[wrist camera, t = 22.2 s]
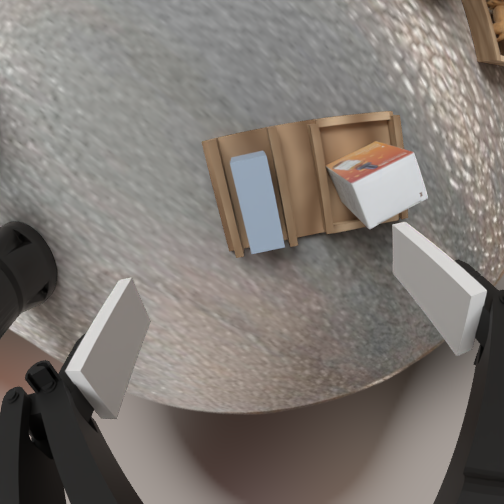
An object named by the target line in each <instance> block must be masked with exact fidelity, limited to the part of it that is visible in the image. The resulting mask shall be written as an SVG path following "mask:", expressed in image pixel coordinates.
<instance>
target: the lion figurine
mask: <svg viewBox="0 0 504 504" xmlns="http://www.w3.org/2000/svg"><path fill="white" fill-rule="evenodd" d="M486 3H487V7H488V8H489V7H490V8H489V12H490V13H491V14H492V15H493V20H494V24H493V27H494V32H495V34H496V38H497V42H499V41H501V40H504V0H490V1H488V2H486ZM491 8H494V9H491Z"/></svg>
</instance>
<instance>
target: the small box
mask: <svg viewBox="0 0 504 504" xmlns="http://www.w3.org/2000/svg"><path fill="white" fill-rule="evenodd" d="M326 169H327V171H328V173H329V175H330V178H331V180H332V182H333V184H334V186H335V189H336V191H337V193H338V195H339V197H340V199H341V202H342V203H343V204H344V205H345V206H346V207H347V208H348V209H349V210H350V211H351V212H352V213H353V214H354V215H355V216H356V217H357V218H358V219H359V220H360V221H361V222H362V223H363V224H364V225H365V226H366V227H367V228H368V229H372V228H373V227H375V226H377V225H379V224H380V223H382V222H384V221H386V220H388V219H390V218H391V217H393V216H395V215H397V214H399V213H401V212H403V211H404V210H406V209H408V208H410V207H412V206H414V205H416V204H418V203H420V202H422V201H424V200H427V199H428V195H427V192H426V188H425V185H424V182H423V178H422V175H421V172H420V169H419V166H418V163H417V160H416V157H415V154H414V152H411V151H408V150H405V149H402V148H398V147H395V146H392V145H388V144H385V143H381V142H378V141H375V142H373V143H371V144H369V145H367V146H365V147H363V148H361V149H359V150H357V151H355V152H353V153H351V154H348V155H346V156H344V157H342V158H340V159H338V160H336V161H334V162H332V163H330V164H328V165H326Z"/></svg>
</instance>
